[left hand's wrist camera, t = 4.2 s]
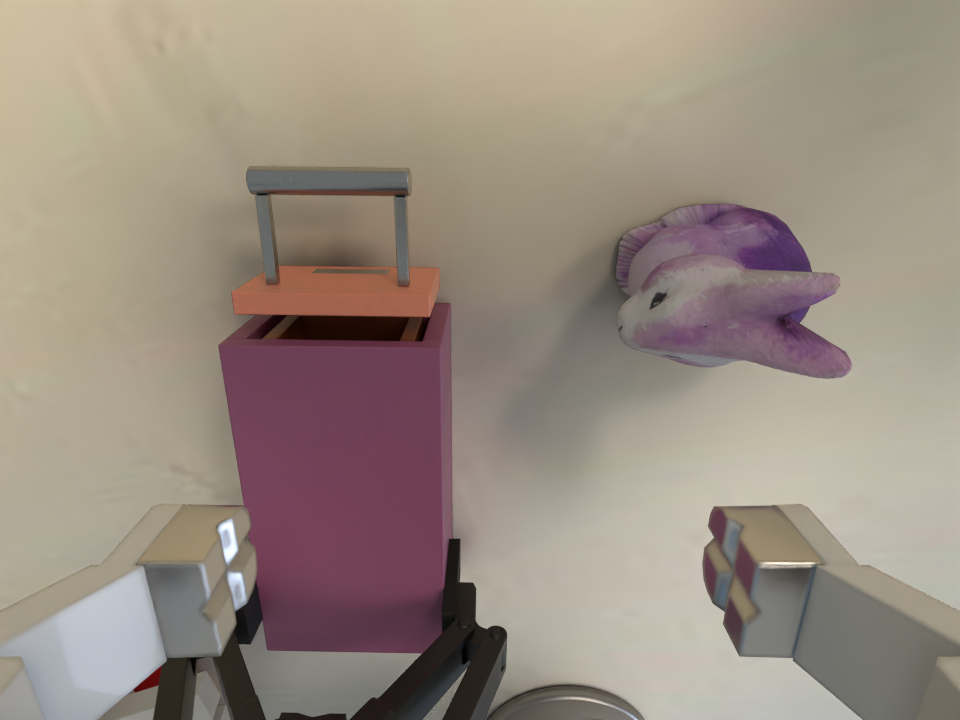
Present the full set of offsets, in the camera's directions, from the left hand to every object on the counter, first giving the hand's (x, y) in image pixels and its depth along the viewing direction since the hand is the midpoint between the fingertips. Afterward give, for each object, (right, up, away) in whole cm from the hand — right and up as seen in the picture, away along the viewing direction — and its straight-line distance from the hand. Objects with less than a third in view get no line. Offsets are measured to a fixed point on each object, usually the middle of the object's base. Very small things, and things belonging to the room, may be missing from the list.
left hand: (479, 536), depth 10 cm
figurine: (+13, +9, +26) cm, 30 cm away
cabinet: (-8, -3, +31) cm, 32 cm away
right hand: (-8, -10, +30) cm, 32 cm away
